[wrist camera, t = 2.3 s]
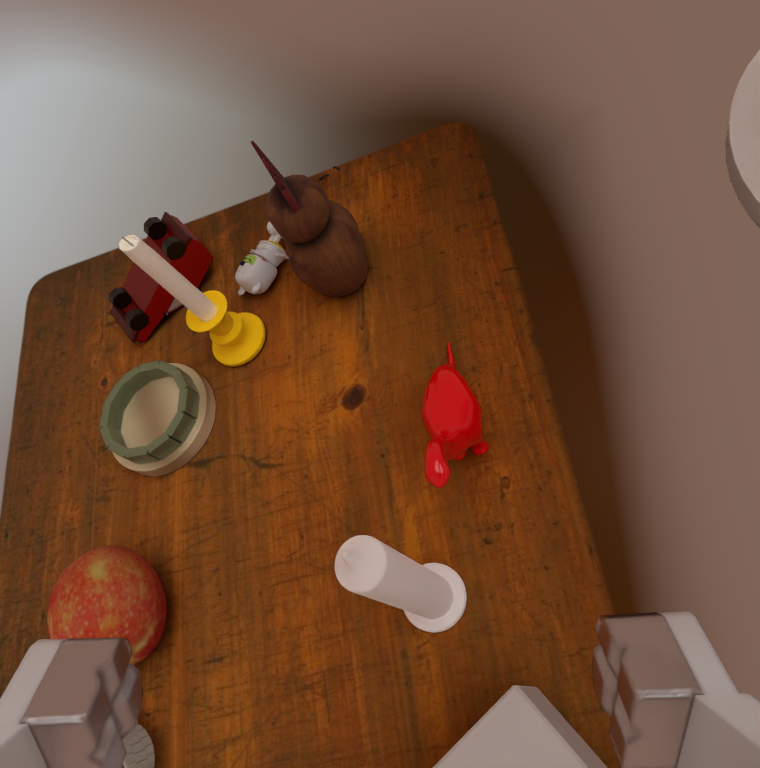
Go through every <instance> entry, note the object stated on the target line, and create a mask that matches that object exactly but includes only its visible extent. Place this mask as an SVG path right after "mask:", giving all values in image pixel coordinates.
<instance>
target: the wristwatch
mask: <svg viewBox="0 0 760 768" xmlns="http://www.w3.org/2000/svg"><path fill="white" fill-rule="evenodd" d="M148 735H149V734H148V733H147V731H146V730H145V729H144V728H143V727H142V726H141V725H140V724H139V725H138V721H137V724H136V727H135V728H134V729H133V730H132V731H131V732H130V733H129V734H128V735H127V736H126V737H125V738H124V739H122V740H123V743H124V746H125V749H126V752H127V753H126V756H125V759H124V761H123V764H124V768H154V764H155V763H154V762H155V753H153V752H154V747H153V744H152V741H151V738H150V736H148Z"/></svg>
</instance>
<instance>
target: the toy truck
mask: <svg viewBox="0 0 760 768" xmlns="http://www.w3.org/2000/svg"><path fill="white" fill-rule="evenodd" d="M144 231H145V232H146V233H147V235H148V237H147V239H146V241H145V243H146V244H147V245H148V246H150V247H151V248H152V249H153V250H154V251H156V252H157V253H158V254H159V255H160V256H161V257H162V258H163V259H165V260H166V261H167V262H168V263H169V264H170V265H171V266H172V267H174V268H175V269H176V270H177V271H178V272H179V273H180V274H181V275H183V276H184V277H185V278H186V279H187V280H188V281H189V282H190V283H192V284H193V285H194V286H195V287H196V288H197V289H198V287H199V285H200V283H201V281H202V279H203V277H204V276H205V274H206V272H207V270H208V268H209V266H210V263H211V261H212V259H213V257H212V256H211V254H210V253H209V252H208V250H207V249H206V248H205V247H204V245H203V244H202V243H201V242H200V241H199V240H198V239H197V238H196V237H195V236H194V235H193V234H192V233H191V232H190V230H189V229H188V228H187V227H186V226H185V225H184V224H183V223H182V222H181V221H180V220H179V219H178V218H176V217H174V216H171V215H169V214H168V213H167V212H165V213H164V215H163V217H162V219H161V220H160V219H158V218H157V217H153V218H149V219H148V220H147V221H146V222H145V223H144ZM109 301H110V302H111V303H112V304H113V307H112V309H111V311H110V313H111V315H112V316H113V317H114V319H115V320H116V321H117V322H118V324H119V325H120V326H121V328H122V329H123V330H124V332H125V333H126V334H127V336H128V337H129V338H130V339H131V341H132V342H134V343H136V341H140V342H143V341H144V342H146V340H147V339H148V337H149V336H150V334H151V333H152V332H153V330H154V329H155V327H156V326H157V325H158V324H159V322H160V321H161V320H162V318H163V317H164V316H166V317H168V316H169V313H171V312H173V311H174V310H176V309H178V308H180V307H182V306H184V305H183V304H182V303H181V302H180V301H178V300H177V299H176V298H175V297H174V296H173V295H171V294H170V293H169V292H168V291H167V290H166V289H165V288H163V287H162V286H161V285H160V284H159V283H158V282H156V281H155V280H154V279H153V278H152V277H151V276H149V275H148V274H147V273H146V272H145V271H144V270H142V269H141V268H140V267H139V266H138V265H137V264H135V263H134V265H133V267H132V269H131V271H130V272H129V274H128V276H127V278H126V280H125V282H124V284H123V288H122V287H120V288H115V289H113V290H112V292H111V293H110V294H109Z"/></svg>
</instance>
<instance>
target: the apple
mask: <svg viewBox="0 0 760 768" xmlns="http://www.w3.org/2000/svg"><path fill="white" fill-rule="evenodd" d="M166 617H167V602H166V596H165V592H164V589H163V586H162V583H161V581H160V579H159V577H158V575H157V573H156V571H155V570H154V568H153V567H152V566H151V565H150V563H149V562H148V561H147V560H146V559H145V558H144V557H143V556H141V555H140V554H138V553H137V552H135V551H133V550H131V549H128V548H124V547H118V546H105V547H100V548H97V549H94V550H92V551H89V552H87V553H86V554H84V555H82V556H81V557H79V558H78V559H77V560H75V561H74V562H73V563H71V564H70V565H69V566H68V567H67V568H66V569H65V570H64V572H63V573H62V574H61V576H60V577H59V579H58V580H57V582H56V584H55V586H54V588H53V591H52V594H51V597H50V600H49V606H48V615H47V624H48V633H49V639H67V638H128V639H129V642H130V645H131V647H132V650H133V653H132V656H131V659H130V661H129V663H131V664H132V665H135V664H136V663H138V662H140V661H142V660H144V659H145V658H146V657H147V656H148V655H149V654H150V653H152V652H153V650H154V648H156V646H157V644H158V642H159V641H160V638H161V636H162V634H163V631H164V628H165V623H166Z"/></svg>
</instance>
